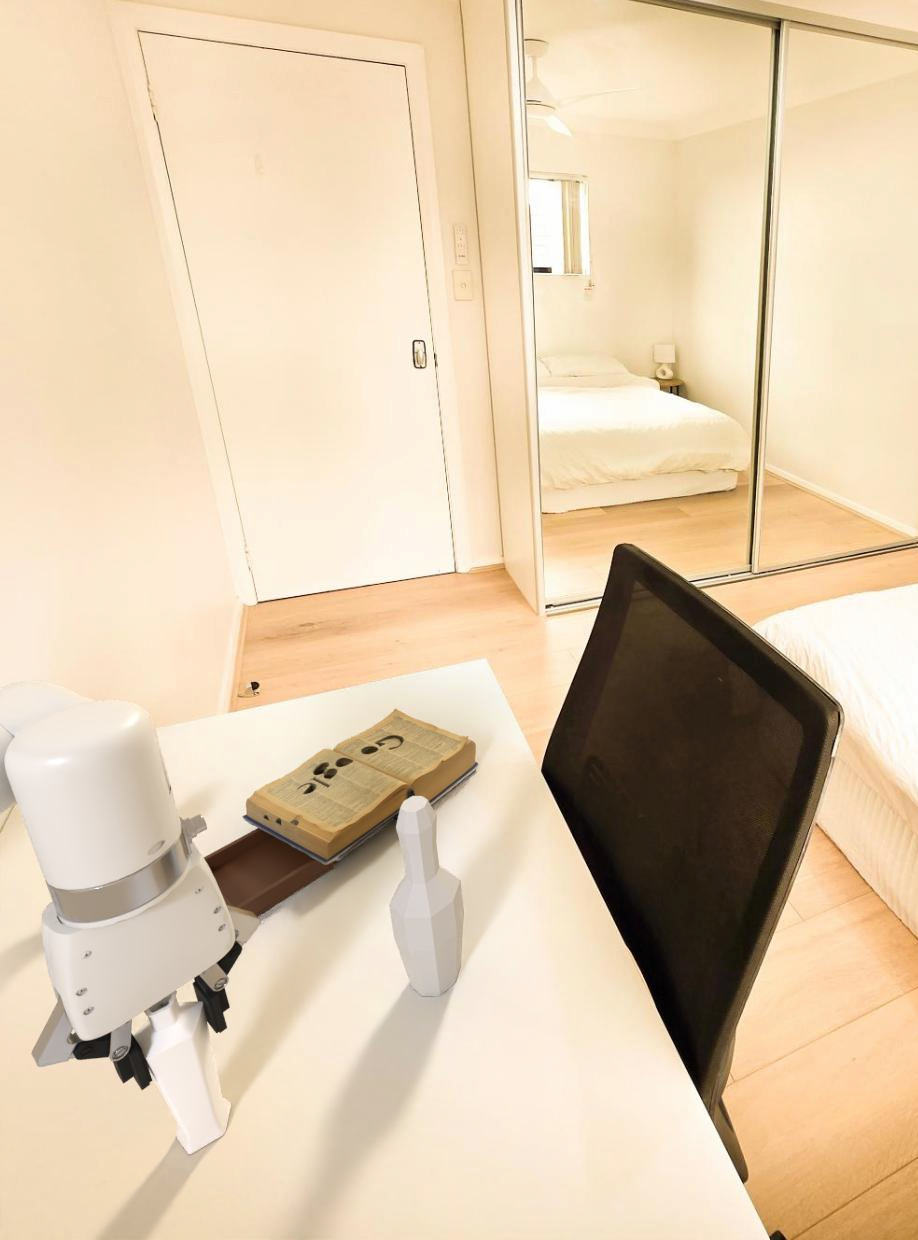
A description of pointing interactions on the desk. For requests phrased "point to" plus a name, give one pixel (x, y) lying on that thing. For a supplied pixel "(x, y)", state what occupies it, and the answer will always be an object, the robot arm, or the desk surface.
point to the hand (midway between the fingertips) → (178, 1046)
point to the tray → (262, 871)
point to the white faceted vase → (185, 1069)
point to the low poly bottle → (426, 904)
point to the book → (360, 786)
